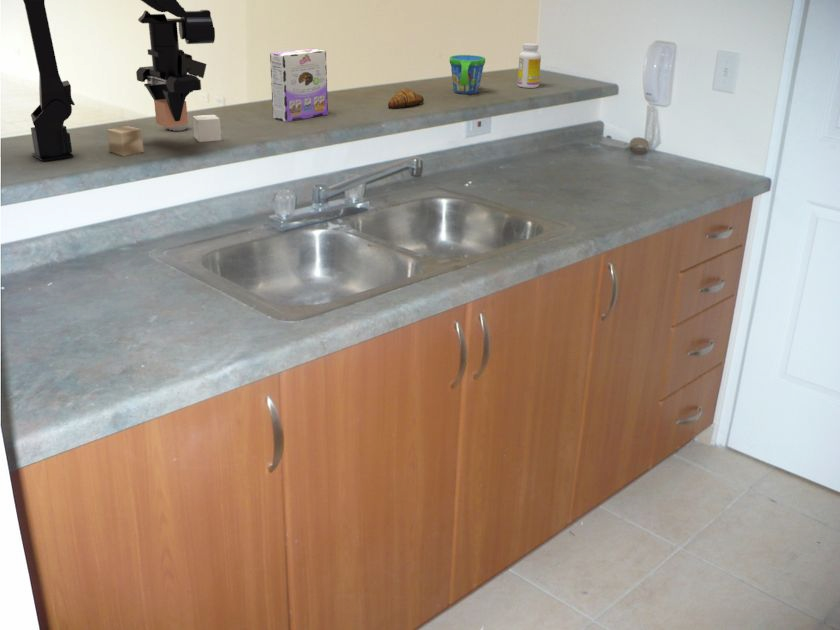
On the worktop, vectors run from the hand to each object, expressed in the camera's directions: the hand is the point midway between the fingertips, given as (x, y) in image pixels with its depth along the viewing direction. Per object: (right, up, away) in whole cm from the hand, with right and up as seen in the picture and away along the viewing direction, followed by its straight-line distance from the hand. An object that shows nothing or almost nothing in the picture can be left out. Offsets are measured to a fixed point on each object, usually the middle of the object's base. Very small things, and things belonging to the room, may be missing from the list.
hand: (171, 119), depth 193 cm
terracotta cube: (0, -1, 0) cm, 1 cm away
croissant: (+50, +15, +52) cm, 74 cm away
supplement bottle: (+88, +28, +83) cm, 124 cm away
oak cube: (-9, -8, -2) cm, 12 cm away
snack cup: (+68, +24, +72) cm, 102 cm away
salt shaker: (-4, +2, +19) cm, 19 cm away
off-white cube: (+5, -2, +11) cm, 12 cm away
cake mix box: (+23, +8, +35) cm, 43 cm away
